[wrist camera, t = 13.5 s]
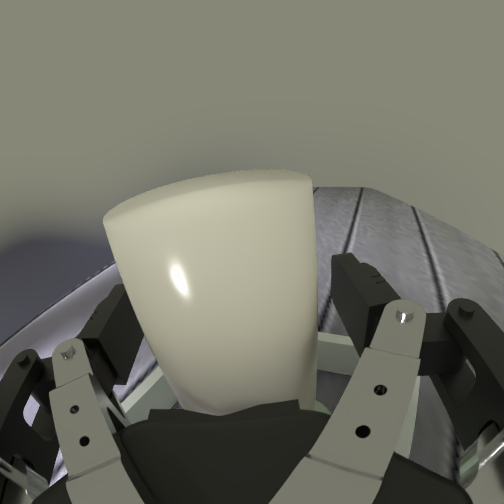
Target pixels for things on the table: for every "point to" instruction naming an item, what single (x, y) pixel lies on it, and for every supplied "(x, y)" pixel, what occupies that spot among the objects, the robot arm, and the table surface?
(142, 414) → the square picture frame
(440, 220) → the table surface
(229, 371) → the canister
